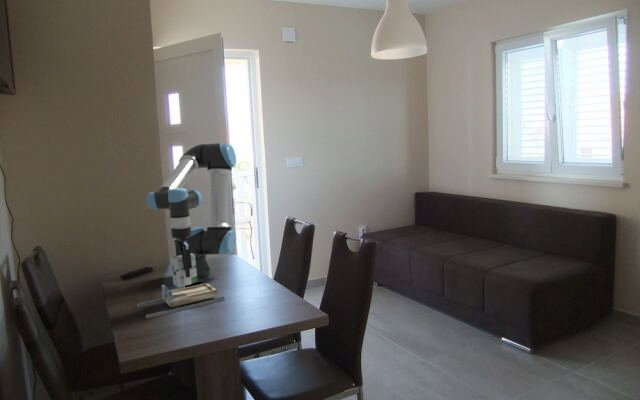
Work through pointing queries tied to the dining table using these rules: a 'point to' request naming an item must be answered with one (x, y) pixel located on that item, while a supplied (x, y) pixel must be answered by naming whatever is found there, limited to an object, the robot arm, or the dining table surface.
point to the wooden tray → (188, 294)
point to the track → (176, 308)
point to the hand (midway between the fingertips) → (185, 282)
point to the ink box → (178, 272)
